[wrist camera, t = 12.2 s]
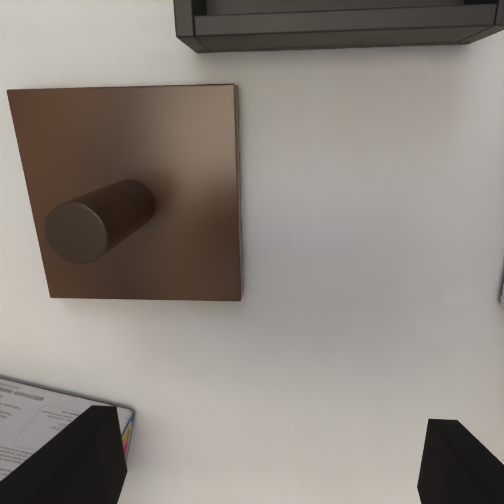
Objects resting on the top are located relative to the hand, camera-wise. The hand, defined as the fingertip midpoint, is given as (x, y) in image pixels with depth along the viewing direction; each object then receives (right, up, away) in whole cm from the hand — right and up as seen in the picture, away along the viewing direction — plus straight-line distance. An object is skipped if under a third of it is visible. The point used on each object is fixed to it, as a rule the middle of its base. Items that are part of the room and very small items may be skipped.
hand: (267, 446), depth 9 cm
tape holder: (-5, +7, +8) cm, 12 cm away
